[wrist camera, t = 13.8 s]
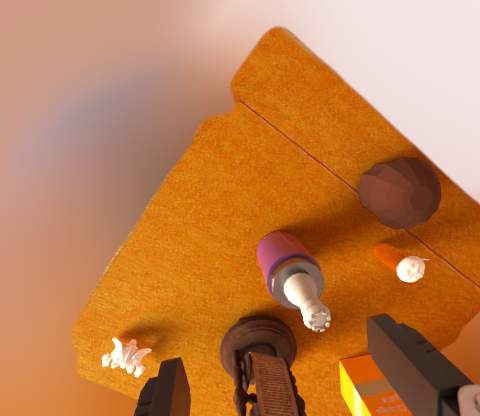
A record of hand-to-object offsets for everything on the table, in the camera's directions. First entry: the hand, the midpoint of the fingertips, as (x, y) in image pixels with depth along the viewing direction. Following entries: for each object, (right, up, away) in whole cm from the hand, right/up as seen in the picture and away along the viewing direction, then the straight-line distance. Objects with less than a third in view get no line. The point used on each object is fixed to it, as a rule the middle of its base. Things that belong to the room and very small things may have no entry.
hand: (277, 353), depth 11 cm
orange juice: (+24, -30, +47) cm, 60 cm away
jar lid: (+7, -5, +27) cm, 28 cm away
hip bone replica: (-23, -21, +40) cm, 51 cm away
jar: (+6, -2, +38) cm, 39 cm away
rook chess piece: (+7, -5, +27) cm, 28 cm away
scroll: (+2, -21, +43) cm, 48 cm away
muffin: (+24, +10, +37) cm, 45 cm away
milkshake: (+26, -2, +40) cm, 48 cm away
